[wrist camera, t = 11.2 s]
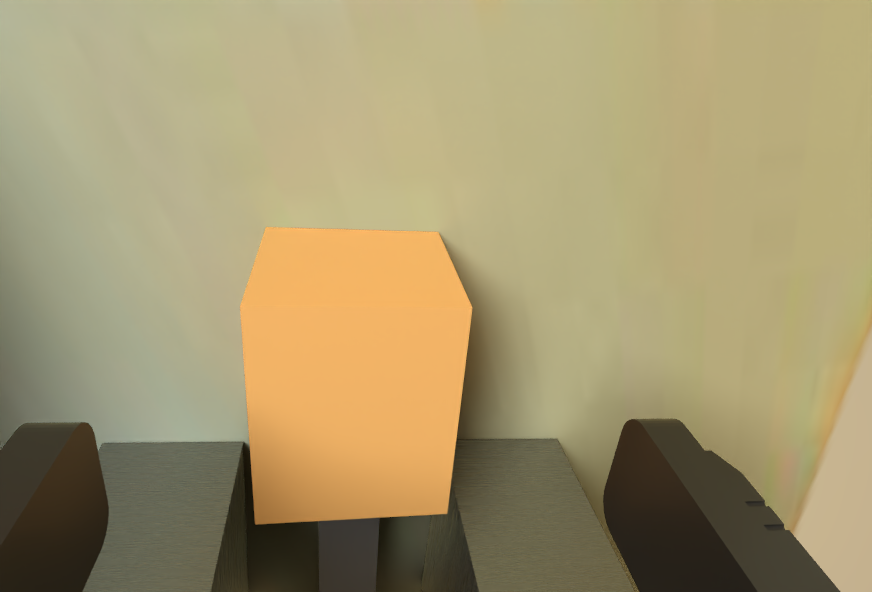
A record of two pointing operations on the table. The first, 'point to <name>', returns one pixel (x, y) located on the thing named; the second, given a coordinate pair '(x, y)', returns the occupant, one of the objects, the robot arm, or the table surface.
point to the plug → (352, 385)
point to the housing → (447, 540)
